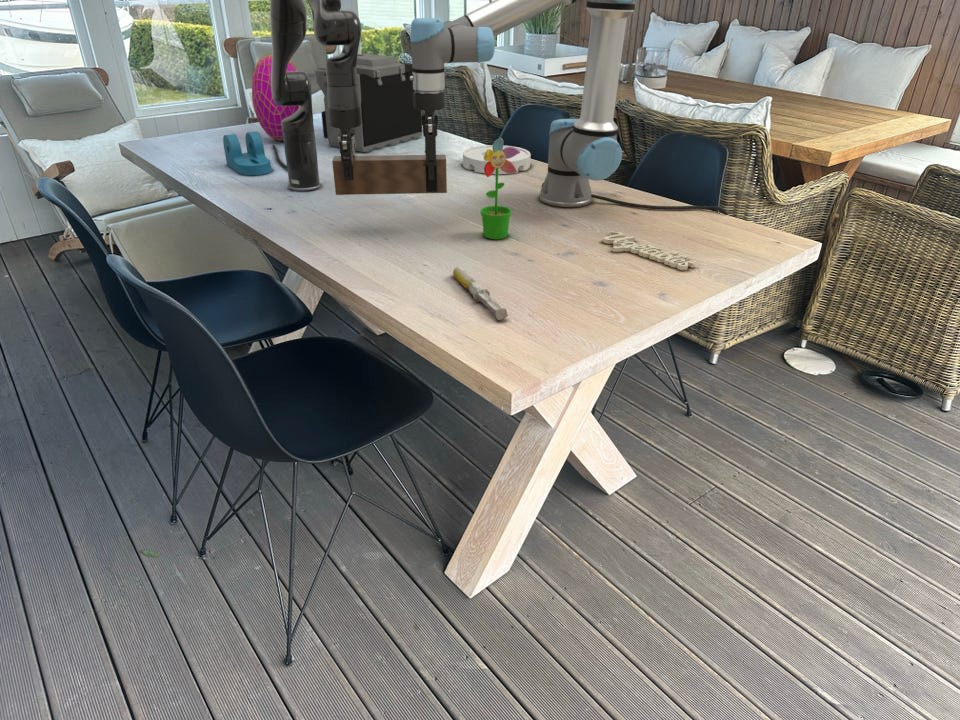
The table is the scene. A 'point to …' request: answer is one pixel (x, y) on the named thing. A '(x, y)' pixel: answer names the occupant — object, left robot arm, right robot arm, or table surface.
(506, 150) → the potted flower
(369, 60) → the cooler box
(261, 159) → the camera mount
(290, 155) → the left robot arm
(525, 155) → the ashtray
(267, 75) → the decorative egg
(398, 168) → the bar
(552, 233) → the table surface
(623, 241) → the decorative sign
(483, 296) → the syringe
